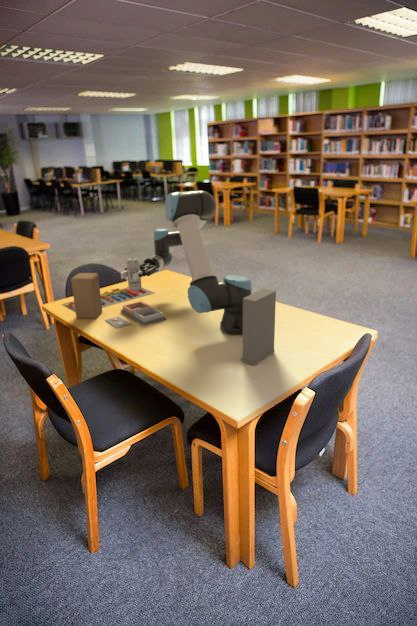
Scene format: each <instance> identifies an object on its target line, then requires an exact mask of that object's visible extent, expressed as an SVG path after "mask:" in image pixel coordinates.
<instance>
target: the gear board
mask: <svg viewBox="0 0 417 626" xmlns="http://www.w3.org/2000/svg"><path fill="white" fill-rule="evenodd" d="M154 294H155V292H153V291H151V290H149V289H147V288H144V287H142V288H141V290H140V291H130V289H129V286H128V287H123V288H119V287H118V288H112V289H111V291H107V290H106V291H104V292H103V293H100V295H101V304H102V309H103V308H106V307H109V306H113V305H118V304H121V303H125V302H128V301H132V300H135V299H138V298H139V299H140V298H142V297H146V296H149V295H154ZM61 305H63V306H64V307H65V308H67V309H69V310H71V311H72V312H74V313H76V311H75V304H74V300H72V301H68V302H65V303H62V304H61Z"/></svg>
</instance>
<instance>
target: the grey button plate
mask: <svg viewBox="0 0 417 626" xmlns="http://www.w3.org/2000/svg"><path fill="white" fill-rule="evenodd" d="M105 322H106V323H108V324H109V325H111V326H113V328H115V329H120V328H124V327H126V326H127V327H128V326H131V325H132V323H130V322H129V321H127V320H126V319H124V318H123V317H121V316H114V317H111V318H107V319H105Z"/></svg>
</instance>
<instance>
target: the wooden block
mask: <svg viewBox="0 0 417 626" xmlns="http://www.w3.org/2000/svg"><path fill="white" fill-rule="evenodd" d="M70 281H71V289H72V297H73V301H74V304H75V311H76V312H75V317H76V318H77V319H88V320H89V319H94V320H95V319H97V318H98V317H99V316H100V315H101V314H102V312H103V308H102V304H101V295H100V294H101V288H100V281H99V274H98V273H97V272H78V273H77V274H76V275H74V276H73V277H71V280H70Z"/></svg>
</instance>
